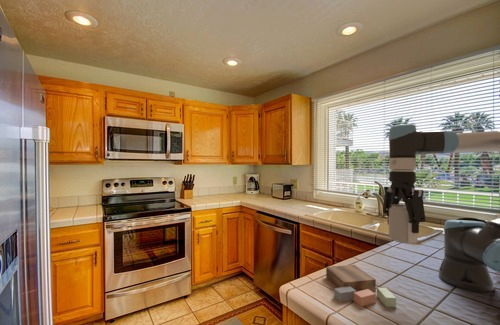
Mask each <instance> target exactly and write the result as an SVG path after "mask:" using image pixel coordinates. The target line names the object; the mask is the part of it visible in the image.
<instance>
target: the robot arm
mask: <svg viewBox="0 0 500 325" xmlns="http://www.w3.org/2000/svg"><path fill="white" fill-rule="evenodd" d="M388 134H389V135H388V142H389V144H388V146H389V147H388V148H389V149H388V150H389V156H388V157H389V163H388V164H389V165H388V166H389V167H388V168H389V170H391V171H389V173H388V176H389V177H388V178H389V179H388V180H389V183H391V184H390V185H388V186H384V187H383V192H384V194H383V195H384V196H383V198H384V199H383V206H382V213H383V214H385V215H386V216H387V225H388V226H389V209H390V208H391V207H392V204H400V201H402V202H403V203H404V205H406V209H407V211H408V215H409V218H410V221H409V222H408V243H409V244H416V243H417V244H418V234H419V233H420V223H425V222H426V214H425V205H424V199H423V197H424V190H423V189H417V188H416V187H415V183H416V182H417V176H416V175H417V172H416V171H415V170H416V169H417V162H416V160H417V156H418V155H419V156H422V155H435V154H436V155H437V154H438V155H441V154H442V155H443V154H461V153H462V154H465V153H488V152H490V153H491V152H497V153H500V128H499V129H498V130H493V131H492V130H491V131H474V132H470V131H469V132H455V131H453V130H443V129H442V130H417V127H416V125H415V124H413V123H412V124H410V123H403V124H396V125H392V126H391V127H390V128H389V133H388ZM414 218H415V219H414ZM443 231H444V233H443V234H444V237H443V238H444V239H443V240H444V241H443V242H444V248H443V249H444V254H443V255H444V256H443V259H442V261H441V264H440V266H439V269H438V277H439V279H441V280H442V281H444V282H445V283H447V284H449V285H452V286H454V287H456V288H460V289H464V290H468V291H471V292H476V293H477V292H478V293H490V292H493V291H494V280H492V277H491V274H490V271H489V269H491V270H492V271H494V272H498V273H500V213H499V214H498V216H497V218H495V219H490V220H487V221H486V222H484V221H478V220H477V221H476V220H466V219H465V220H464V219H447V220H446V221H445V222H444V226H443ZM488 268H489V269H488Z"/></svg>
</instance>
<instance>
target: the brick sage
mask: <svg viewBox="0 0 500 325" xmlns="http://www.w3.org/2000/svg"><path fill="white" fill-rule="evenodd" d="M376 298H378V299H379V300H380V301H381V303H382V304H383V305H384V307H386V308H397V297H395V295H394V294H393V293H392V292H391V291H390V290H389V289H388V288H387V287H377V286H376Z"/></svg>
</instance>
